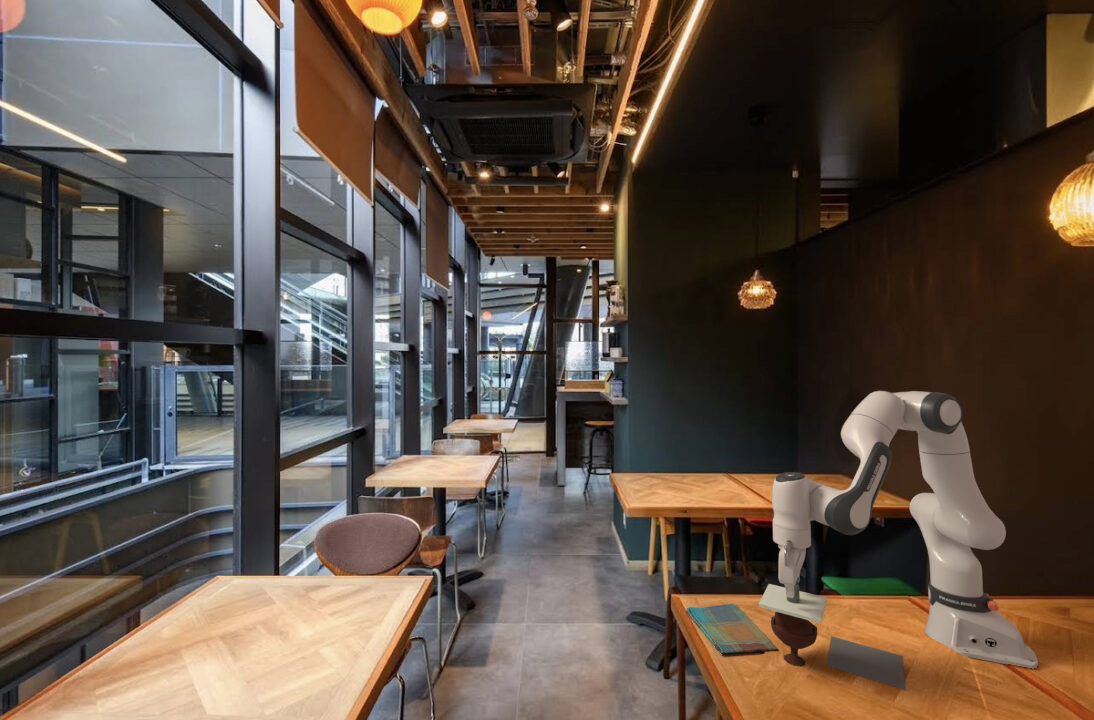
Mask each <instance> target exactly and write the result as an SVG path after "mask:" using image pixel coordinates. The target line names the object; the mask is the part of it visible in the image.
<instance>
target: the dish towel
mask: <svg viewBox="0 0 1094 720" xmlns="http://www.w3.org/2000/svg"><path fill="white" fill-rule="evenodd" d="M685 609H686V610H685V613H686V615H687V616H688V618H689V619H691V621H692V622H693V623H694V624H695V625H696V626H697V627H698V628H699V630H700V631H701V632H702V633H703V635H704V636H705V637H706V638H707V639H708V641H709V642H710V643H711V644H713V645H714V646H715V647H714V646H713V645H712V646H713V647H714V649H715V650H716V651H717V652H718V651H719V652H720V653H721V654H722V655H721V654H720V653H719V652H718V653H719V654H720V655H721V657H722V656H725V657H734V656H738V657H739V656H746V655H747V656H749V655H750V656H751V655H753V656H754V655H763V654H765V653H766V652H771V651H777V652H778V651H779V650H780V649H779V648H778V647H777V646H776V645H775V644H774V643H773V642H772V641H771V640H770V639H769V638H768V636H766V634H765V633H763V631H762V630H761V629H760V628H759V627H758V626H757V625H756V624H755V623H754V622H753V621H752V620H751V619H750V618H749V617H748V616H747V615H746V614H745V612H744V611H742V609H741V608H740V607H739V606H738V605H737V604H735V603H727V604H721V605H720V604H719V605H712V606H704V607H703V606H702V607H701V606H699V607H698V606H697V607H696V606H695V607H694V606H688V607H686V608H685Z"/></svg>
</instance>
